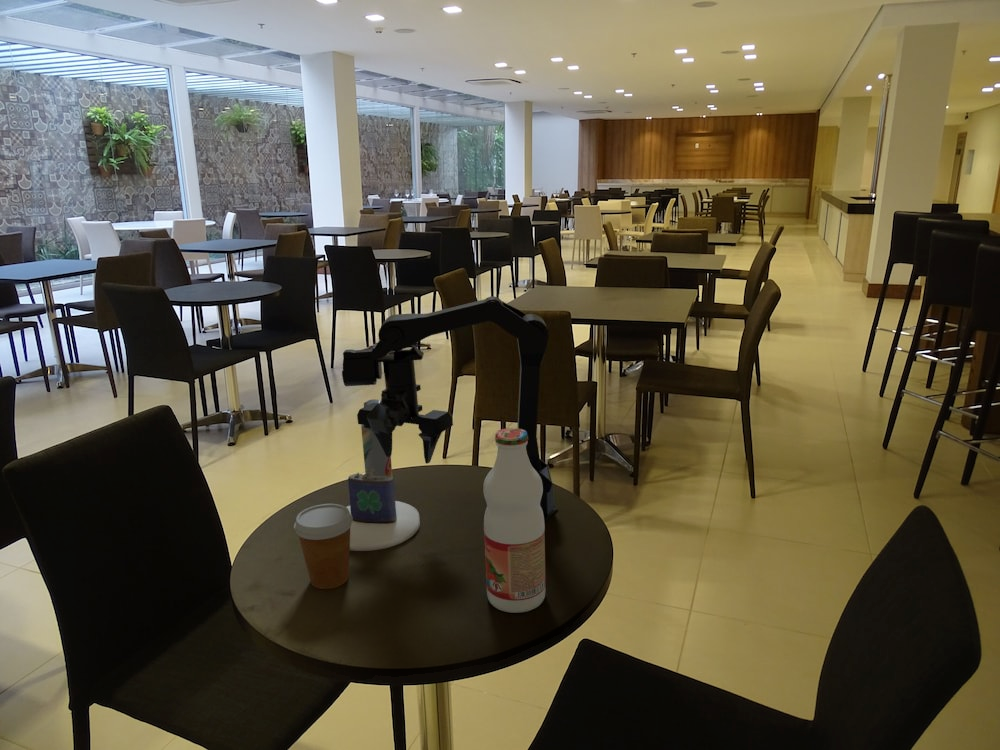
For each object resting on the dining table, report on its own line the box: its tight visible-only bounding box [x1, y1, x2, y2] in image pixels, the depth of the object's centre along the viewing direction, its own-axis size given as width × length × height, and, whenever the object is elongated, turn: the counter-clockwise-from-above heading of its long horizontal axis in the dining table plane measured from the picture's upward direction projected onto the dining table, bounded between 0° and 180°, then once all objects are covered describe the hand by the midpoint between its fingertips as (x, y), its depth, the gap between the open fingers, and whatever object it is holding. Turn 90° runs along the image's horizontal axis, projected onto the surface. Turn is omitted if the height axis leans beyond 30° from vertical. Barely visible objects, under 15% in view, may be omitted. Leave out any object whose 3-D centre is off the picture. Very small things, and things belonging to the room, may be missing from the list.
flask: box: [347, 468, 397, 524], centre depth 137 cm, size 9×3×11 cm, turn 78°
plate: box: [346, 500, 421, 552], centre depth 139 cm, size 18×18×2 cm
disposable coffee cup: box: [293, 503, 353, 590], centre depth 120 cm, size 10×10×12 cm
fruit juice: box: [482, 427, 547, 614], centre depth 111 cm, size 9×9×28 cm
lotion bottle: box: [360, 399, 393, 478], centre depth 153 cm, size 6×6×20 cm
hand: (408, 459), depth 139 cm, fingers open, 9 cm apart
